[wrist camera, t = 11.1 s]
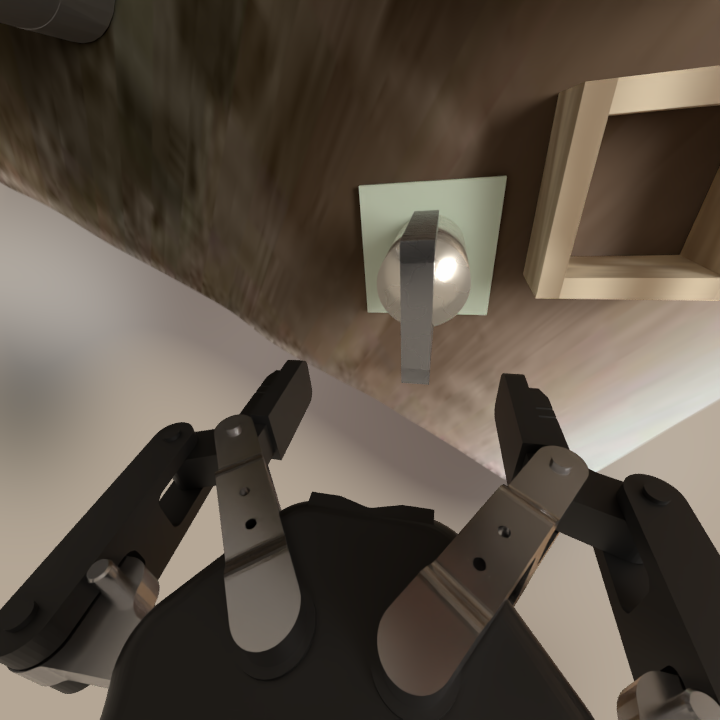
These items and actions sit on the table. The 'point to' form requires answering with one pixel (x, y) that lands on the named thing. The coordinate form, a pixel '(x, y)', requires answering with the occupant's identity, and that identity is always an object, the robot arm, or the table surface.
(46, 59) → the table surface
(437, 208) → the mat
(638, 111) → the holder
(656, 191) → the table surface
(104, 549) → the robot arm
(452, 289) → the pail
